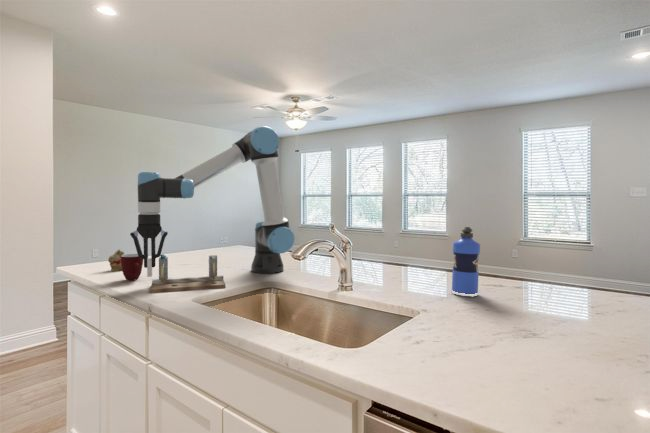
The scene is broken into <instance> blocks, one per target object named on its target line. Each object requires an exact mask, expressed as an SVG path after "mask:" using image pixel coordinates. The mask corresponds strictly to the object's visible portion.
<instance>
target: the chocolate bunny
mask: <svg viewBox="0 0 650 433" xmlns="http://www.w3.org/2000/svg"><path fill="white" fill-rule="evenodd" d="M122 255H125V251H123V250H121V248H119V249H117V250H116V251H115V253H114V254H111V255H110V256H109V257H108V263H109V266H110V268H111V269H110V271H111V272H123V271H122V266H121V256H122Z"/></svg>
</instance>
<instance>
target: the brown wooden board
mask: <svg viewBox="0 0 650 433" xmlns="http://www.w3.org/2000/svg"><path fill="white" fill-rule="evenodd" d="M222 288H223V289H225V288H226V283H225V280H224V275H217V276H215V279H213V277H209V275H208V276H193V277H192V276H191V277H176V278H175V277H174V278H168V279H164V282H161V280H159V278H158V279H156V278H154V279H152V280H151V286H150V289H149V293H150V294H151V293H152V292H154V293H165V292H167V293H168V292H178V291H180V292H181V291H182V292H183V291H193V290H207V289H208V290H212V289H222Z"/></svg>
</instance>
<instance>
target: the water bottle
mask: <svg viewBox="0 0 650 433" xmlns="http://www.w3.org/2000/svg"><path fill="white" fill-rule="evenodd" d="M461 231H462V232H460V239H458V240H456V241H454V242H452V253H453V266H452V276H451V278H452V279H451V281H452V282H451V291H452V290H453V291H455V292H458V293H465V294H475V293H478V294H479V257H480V253H481V244H480V243H479V242H477V241H476V240H474V239H473V237H474V233H472V232H474V231H473V229H472V228H471V227H469V226H464V227H463V228H462V229H461Z"/></svg>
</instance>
